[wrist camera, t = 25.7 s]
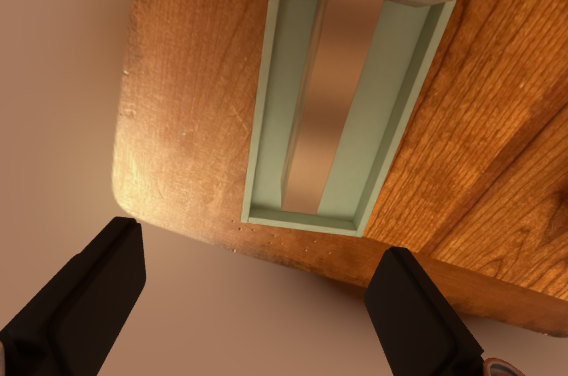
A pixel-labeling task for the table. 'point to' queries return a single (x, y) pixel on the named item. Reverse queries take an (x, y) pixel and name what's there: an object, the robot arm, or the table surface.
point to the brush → (328, 95)
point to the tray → (360, 121)
